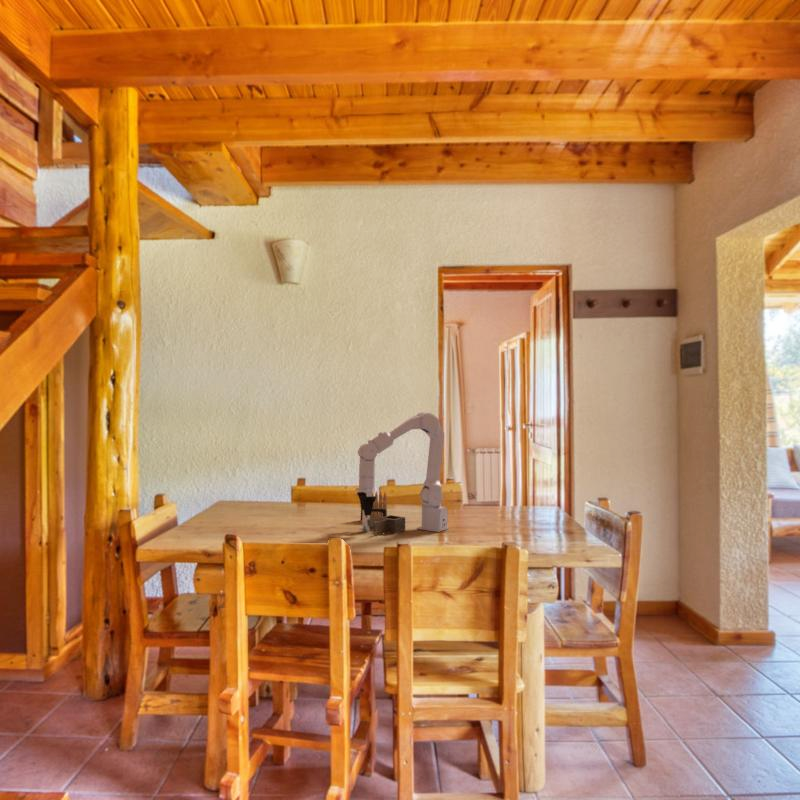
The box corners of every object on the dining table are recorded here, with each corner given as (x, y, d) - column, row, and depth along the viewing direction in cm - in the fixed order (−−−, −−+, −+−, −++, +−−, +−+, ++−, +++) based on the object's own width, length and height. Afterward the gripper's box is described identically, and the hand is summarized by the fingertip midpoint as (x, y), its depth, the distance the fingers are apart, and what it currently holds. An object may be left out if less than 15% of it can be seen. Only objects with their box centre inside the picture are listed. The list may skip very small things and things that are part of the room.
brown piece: (405, 530, 226) (405, 517, 226) (383, 537, 214) (384, 523, 214) (375, 525, 233) (375, 513, 233) (353, 532, 222) (353, 518, 222)
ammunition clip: (360, 520, 243) (360, 491, 243) (361, 520, 245) (362, 490, 245) (386, 522, 241) (386, 492, 241) (387, 521, 243) (387, 491, 243)
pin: (371, 531, 223) (371, 509, 223) (366, 532, 221) (367, 510, 221) (365, 530, 225) (365, 509, 225) (360, 531, 222) (361, 510, 222)
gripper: (353, 474, 229) (352, 510, 229) (358, 479, 215) (357, 517, 215) (372, 474, 230) (371, 509, 230) (378, 478, 216) (377, 516, 216)
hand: (366, 513), depth 223 cm, fingers open, 7 cm apart
